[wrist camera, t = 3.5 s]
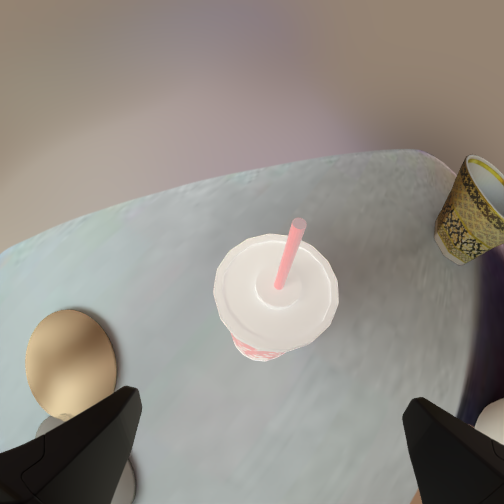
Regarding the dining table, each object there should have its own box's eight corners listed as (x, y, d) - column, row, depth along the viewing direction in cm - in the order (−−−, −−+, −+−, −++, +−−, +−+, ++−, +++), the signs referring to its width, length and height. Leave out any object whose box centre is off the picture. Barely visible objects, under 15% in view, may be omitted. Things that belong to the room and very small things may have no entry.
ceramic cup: (449, 289, 23) (510, 238, 15) (408, 214, 28) (450, 152, 19) (496, 260, 26) (541, 219, 17) (462, 203, 30) (497, 156, 22)
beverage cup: (268, 386, 18) (328, 361, 6) (205, 336, 20) (161, 231, 8) (315, 326, 21) (406, 220, 9) (255, 282, 23) (277, 141, 11)
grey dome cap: (157, 469, 14) (155, 470, 14) (108, 533, 10) (105, 536, 9) (64, 390, 16) (60, 389, 16) (26, 458, 12) (22, 459, 11)
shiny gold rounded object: (139, 357, 19) (136, 356, 18) (81, 445, 14) (78, 446, 14) (65, 291, 21) (62, 289, 20) (15, 368, 16) (12, 367, 16)
